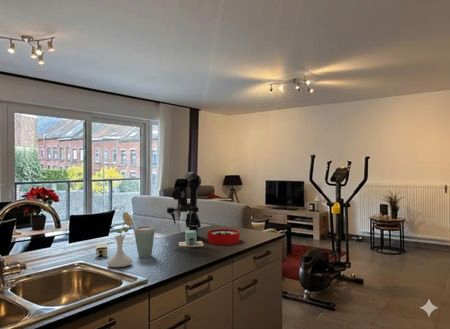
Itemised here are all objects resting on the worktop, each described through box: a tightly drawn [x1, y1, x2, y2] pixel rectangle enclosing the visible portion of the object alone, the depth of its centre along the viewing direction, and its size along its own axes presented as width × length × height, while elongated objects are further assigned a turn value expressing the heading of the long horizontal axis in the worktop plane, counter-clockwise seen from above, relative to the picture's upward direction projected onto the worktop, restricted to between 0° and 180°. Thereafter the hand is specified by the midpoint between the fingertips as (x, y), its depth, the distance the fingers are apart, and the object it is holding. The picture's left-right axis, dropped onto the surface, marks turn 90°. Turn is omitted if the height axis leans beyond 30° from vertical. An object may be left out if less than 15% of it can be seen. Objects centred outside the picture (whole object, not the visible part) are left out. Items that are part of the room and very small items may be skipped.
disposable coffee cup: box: [133, 225, 156, 258], centre depth 176 cm, size 11×11×15 cm
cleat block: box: [184, 230, 198, 245], centre depth 201 cm, size 7×6×7 cm
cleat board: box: [178, 238, 205, 249], centre depth 201 cm, size 10×14×4 cm
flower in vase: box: [106, 211, 135, 268], centre depth 159 cm, size 13×11×25 cm
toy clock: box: [206, 228, 240, 245], centre depth 212 cm, size 20×6×20 cm
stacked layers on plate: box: [95, 243, 109, 257], centre depth 177 cm, size 10×9×6 cm
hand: (182, 224), depth 205 cm, fingers open, 9 cm apart
